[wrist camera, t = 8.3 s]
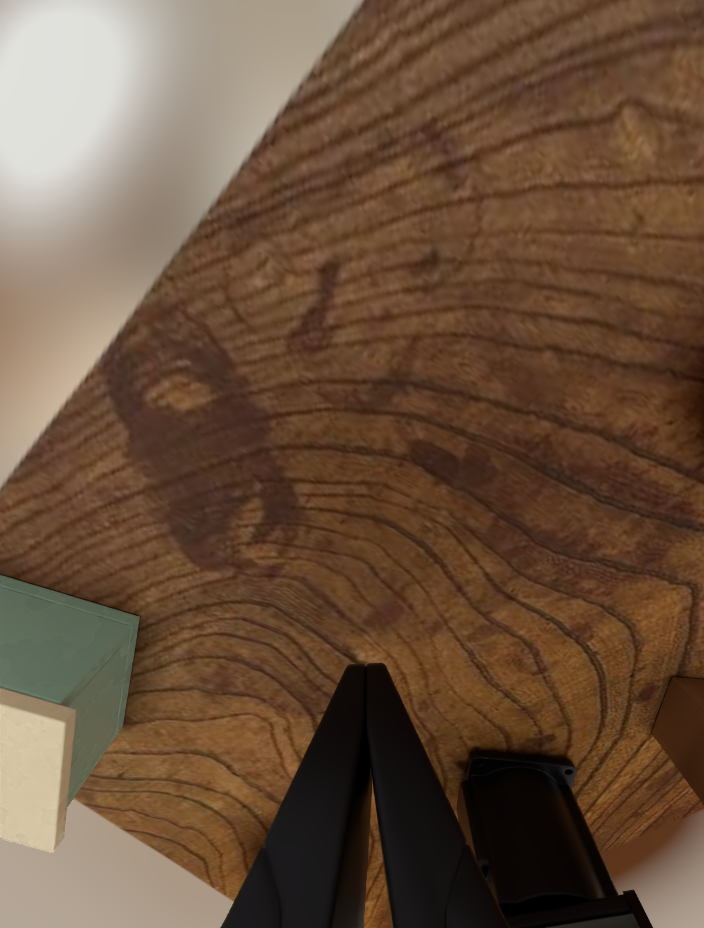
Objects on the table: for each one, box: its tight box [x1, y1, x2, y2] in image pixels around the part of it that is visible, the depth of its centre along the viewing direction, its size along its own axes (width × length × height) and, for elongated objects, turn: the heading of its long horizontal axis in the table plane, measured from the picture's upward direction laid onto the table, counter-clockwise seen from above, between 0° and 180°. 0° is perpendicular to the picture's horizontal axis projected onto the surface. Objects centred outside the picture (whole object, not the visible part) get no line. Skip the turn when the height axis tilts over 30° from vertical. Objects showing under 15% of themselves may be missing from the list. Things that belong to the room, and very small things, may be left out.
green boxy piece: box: [0, 575, 140, 807], centre depth 20 cm, size 10×10×6 cm
